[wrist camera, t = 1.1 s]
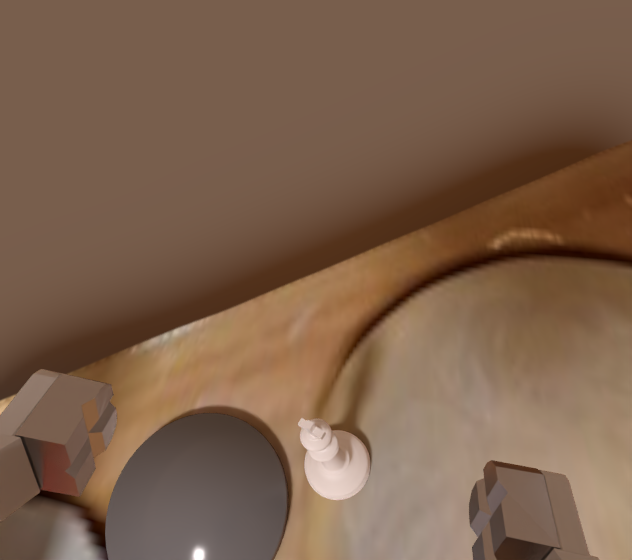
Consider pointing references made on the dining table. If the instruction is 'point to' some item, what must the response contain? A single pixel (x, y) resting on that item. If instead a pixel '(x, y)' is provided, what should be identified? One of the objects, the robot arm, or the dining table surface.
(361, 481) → the chess piece
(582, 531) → the robot arm
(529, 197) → the dining table surface
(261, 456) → the charcoal plate
